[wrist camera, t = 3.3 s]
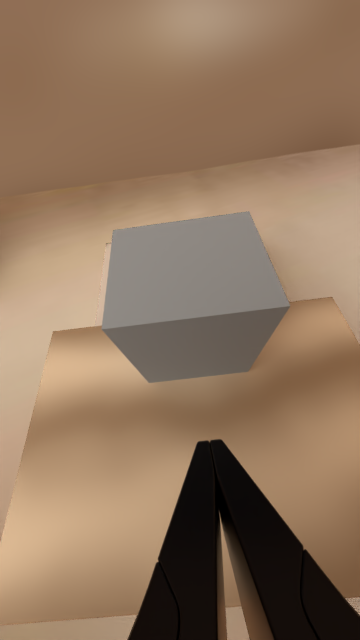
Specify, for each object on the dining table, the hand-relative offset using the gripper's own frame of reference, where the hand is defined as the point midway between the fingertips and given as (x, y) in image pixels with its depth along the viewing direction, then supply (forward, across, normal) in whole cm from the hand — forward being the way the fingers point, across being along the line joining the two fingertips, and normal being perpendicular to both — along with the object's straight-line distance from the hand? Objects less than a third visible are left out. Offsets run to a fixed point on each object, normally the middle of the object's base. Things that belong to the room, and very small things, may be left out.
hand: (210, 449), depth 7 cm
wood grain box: (+10, 0, +8) cm, 12 cm away
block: (+7, 0, -1) cm, 7 cm away
